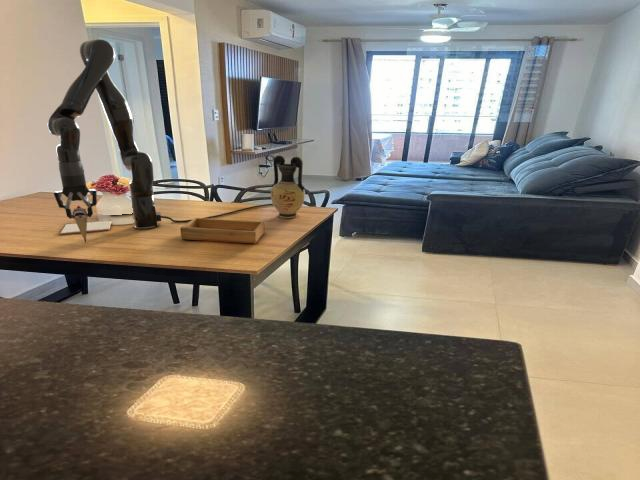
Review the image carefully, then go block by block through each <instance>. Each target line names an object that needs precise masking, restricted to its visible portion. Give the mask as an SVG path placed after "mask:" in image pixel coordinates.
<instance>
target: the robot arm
mask: <svg viewBox="0 0 640 480" xmlns="http://www.w3.org/2000/svg"><path fill="white" fill-rule="evenodd" d="M79 55H80V57H81V60H82V62H83V65H84V66H85V67H84V69H82V72H81V73H80V74H79V75H78V76H77V77H76V78H75V79H74V80H73V82H71V85H70V86H69V87H68V89H67V91H66V93H65V95H64V96H63V98H62V101H61V103H60V104H59V106H57V108H56V109H55V110H54V111H53V112H52V114H51V115H50V117H49V118H48V121H47V129H48V132H49V133H50V134H51V135H52V136H54V137H57V138H60V144H58V145H57V146H56V148H55V149H56V150H55V151H56V156H57V160H58V161H57V162H58V171H59V176H60V179H61V186H62V190H56V191H54V193H53V196H54V198H55V200H56V204H57V206H58V208H59V209H64V210H65V214H66V217H67V218H69V220H71V219H73V218H72V217H71V216H72V215H73V212H72V209H71V204H72V202H76V201H82V202H83V203H84V204H85V206H86V207H87V208H86V212H87V213H88V218H92V216H93V214H94V210H93V207H95V206H96V205H97V203H98V190H97V189H95V188H94V189H89V188H88V187H87V181H86V176H85V169H84V165H83V163H82V158H81V153H80V144H81V130H80V126H79V123H78V122H77V121H76V119H77V118H79V117H81V116H82V115H83V114H84V113H85V110H86V108H87V106H88V104H89V102H90V100H91V98H92V95H93V94H94V92H95V91H96V92H97V95H98V98H99V101H100V102H101V105H102V108H103V111H104V114H105V116H106V119H107V121H108V124H109V126H110V129H111V131H112V135H113V136H114V138H115V141H116V144H117V147H118V151H119V155H120V159H121V162H122V164H123V167H124V168H125V169H126V170H127V171H129V172H131V177H132V178H131V179H132V180H131V181H130V182H129V183H128V187H129V194H130V199H131V201H130V202H132V208H133V214H132V220H133V221H134V223H133V224H134V229H137V230H149V229H154V228H158V227H159V226H158V222H162V219H167V220H170V221H171V222H174V223H188V222H190V221H191V220H193V219H194V218H193V219H192V218H191V219H186V220H185V219H183V220H177V219H173V218H172V217H170V216H165V215H161V212H157V211H156V209H157V208H156V203H155V196H154V195H155V194H154V185H153V184H154V180H155V177H154V165H153V161H152V158H151V156H150V155H149V154H148V153H147V152H144V151H140V150H139V148H138V146H137V144H136V140H135V138H134V119H133V114H132V111H131V108H130V105H129V103H128V101H127V98H125V96H124V95H123V93H122V92H121V91H120V89H118V87H117V86H116V85H115V83H114V81H113V79H112V78H111V76H110V73H109V71H108V70H109V69H110V68H111V66H112V65H113V64H114V62H115V60H116V51H115V48H114V47H113V45H112V44H111V43H110V42H109V41H108V40H105V39H103V38H102V39H101V38H98V39H91V40H85V41H83V42H82V43H81V44H80V46H79ZM88 194H89V195H90V196H92V197H91V198H92V199H91V200H92V202H91V201H90V199H89V198H88V197H87V195H88ZM62 196H65V197H66V198H67V199H66V202H65V203H64V202H63V199H62ZM267 206H274V205H273V203H272V202H271V203H265V204H264V203H263V204H258V205H253V206H252V205H251V206H248V207H244V208H240V209H236V210H231V211H228V212H225V213H220V214H215V215H211V216H204V218H206V219H215V218H218V217H222V216H227V215H231V214H234V213H238V212H241V211H242V212H243V211H245V210H250V209H255V208H260V207H261V208H262V207H267Z"/></svg>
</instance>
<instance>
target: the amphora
mask: <svg viewBox="0 0 640 480" xmlns="http://www.w3.org/2000/svg"><path fill="white" fill-rule="evenodd" d="M272 162H273V164H272V165H273V172H274V175H273V176H274V179H273V180H274V181H273V184H271V189H270V200H271V204H272V203H273V205H272V206H273V207H274V209H276V211H278V217H280V218H281V219H294V218H296V217H298V214H297V212H298V211H299V210H300V209H301V208H302V207H303V205H304V203H305V197H306V192H305V191H306V190H305V186H304V184H303V170H304V169H303V168H304V167H303V165H304V164H303V163H304V161H303V160H302V158H301V157H300V156H293V157H292V158H291V159H290V162H289V163H286V159H285V157H284V156H283V155H280V154H279V155H276V156H274V157H273V161H272ZM297 168H298V171H297ZM296 171H297V182H296V181H295V173H296ZM279 172H280V173H281V177H280V181H279Z"/></svg>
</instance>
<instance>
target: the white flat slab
mask: <svg viewBox="0 0 640 480" xmlns="http://www.w3.org/2000/svg"><path fill="white" fill-rule="evenodd" d="M111 224H112V221H104V220H94V221H93V220H92V221H87V232H86V233H95V232H98V233H99V232H109V231H110V228H111ZM74 234H81V232H80V230H79V228H78V226H77V223H76V222H69V223H65V226H63V229H62V230H61V231H60V232H59V235H60V236H63V235H64V236H65V235H74Z"/></svg>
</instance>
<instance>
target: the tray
mask: <svg viewBox="0 0 640 480" xmlns="http://www.w3.org/2000/svg"><path fill="white" fill-rule="evenodd" d="M190 220H191V219H190ZM179 228H180V229H179V230H180V239H181V240H191V241H192V240H193V241H208V242H222V243H223V242H225V243H239V244H254V245H255V244H257V242H258V241H259V240H260V239H261V237H262V236H263V235H264V234H265V221H257V220H239V219H238V220H237V219H222V218H209V219H206V218H205V217H194V218H193V220H191V221H190V222H186V223H185V224H183V225H182V226H180V227H179Z"/></svg>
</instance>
